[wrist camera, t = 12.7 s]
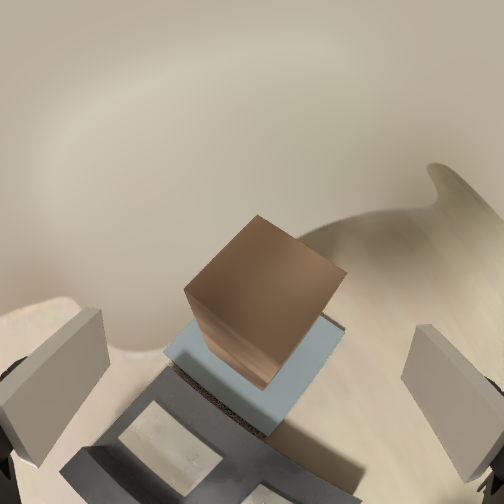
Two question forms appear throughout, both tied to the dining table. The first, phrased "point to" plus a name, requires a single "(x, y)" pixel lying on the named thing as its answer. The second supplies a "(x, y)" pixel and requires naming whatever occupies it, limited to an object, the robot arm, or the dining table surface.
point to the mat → (245, 393)
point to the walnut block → (261, 299)
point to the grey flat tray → (189, 457)
